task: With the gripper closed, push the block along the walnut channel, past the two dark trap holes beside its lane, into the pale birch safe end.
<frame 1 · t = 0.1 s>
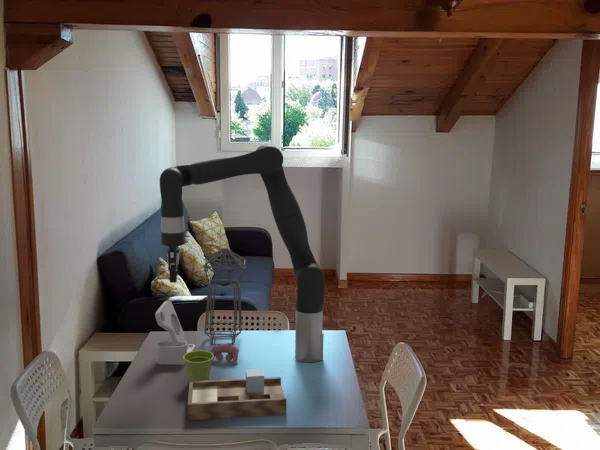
hand: (174, 278, 199), 29 cm above the table, tool pointing down, fingers open, 8 cm apart
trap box: (238, 404, 175), on the table
video game controller: (223, 362, 206), on the table
block: (254, 388, 179), point 3 cm above the table, touching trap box
plant pot: (199, 383, 190), on the table
phone holder: (176, 355, 212), on the table
geometric lantern: (225, 340, 226), on the table
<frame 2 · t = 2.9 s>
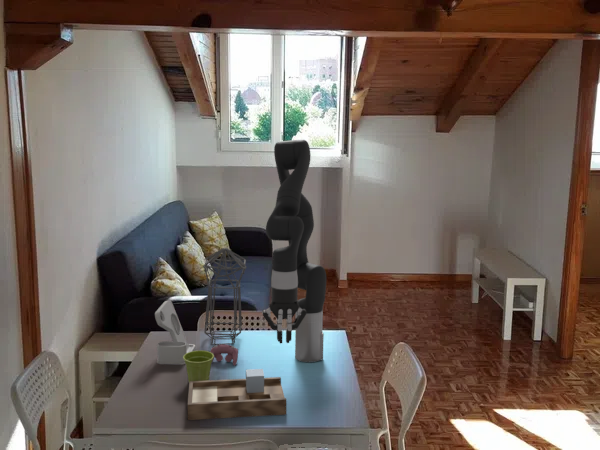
hand: (284, 342, 178), 17 cm above the table, tool pointing down, fingers closed
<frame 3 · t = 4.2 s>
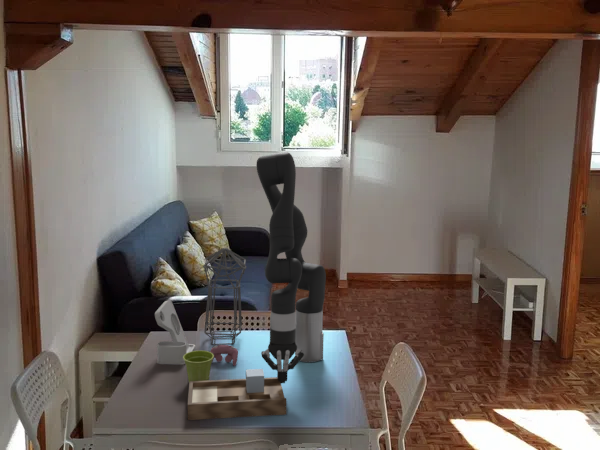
hand: (282, 382, 180), 5 cm above the table, tool pointing down, fingers closed
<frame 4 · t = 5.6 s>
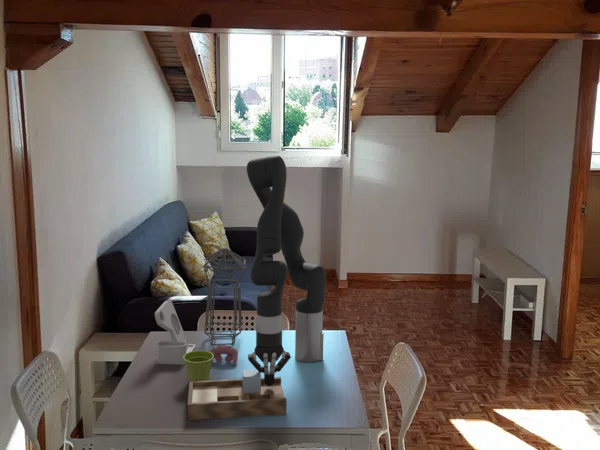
hand: (269, 384, 179), 4 cm above the table, tool pointing down, fingers closed
block: (251, 389, 179), point 3 cm above the table, touching gripper
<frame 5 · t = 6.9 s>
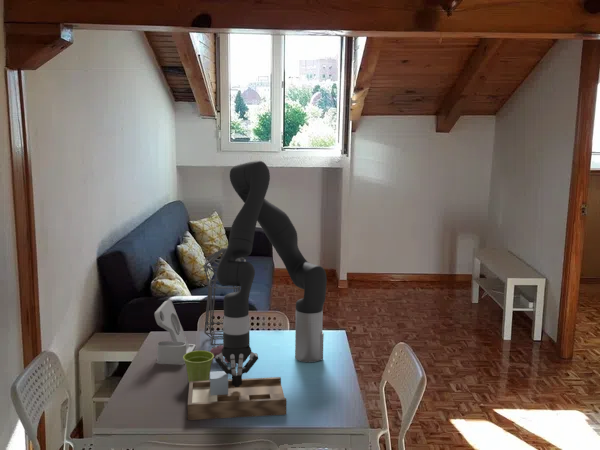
hand: (236, 386, 178), 4 cm above the table, tool pointing down, fingers closed
block: (219, 391, 177), point 3 cm above the table, touching gripper, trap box
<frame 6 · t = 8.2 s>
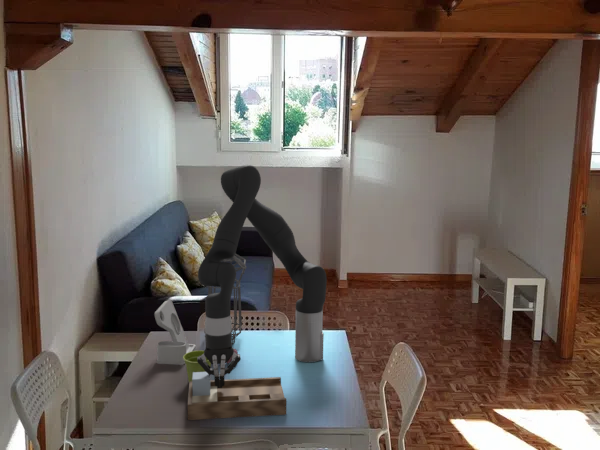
hand: (219, 387, 177), 4 cm above the table, tool pointing down, fingers closed
block: (201, 391, 176), point 3 cm above the table, touching gripper, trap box
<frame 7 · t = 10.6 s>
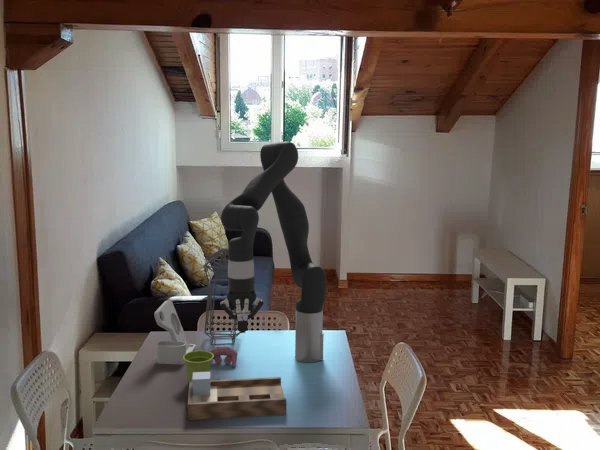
hand: (242, 332, 178), 20 cm above the table, tool pointing down, fingers closed
block: (201, 391, 176), point 3 cm above the table, touching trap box
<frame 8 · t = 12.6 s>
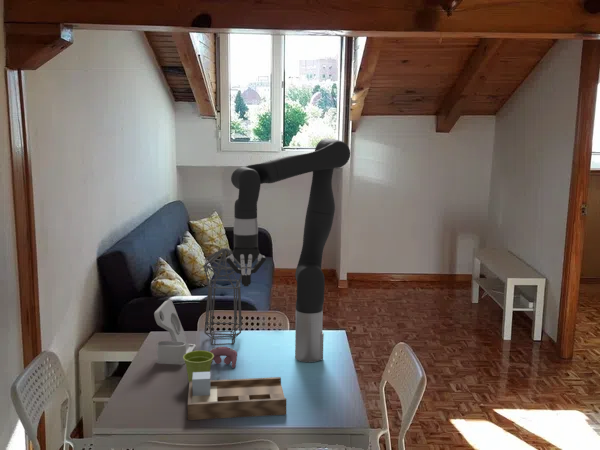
hand: (246, 285, 193), 29 cm above the table, tool pointing down, fingers closed
at the end: block 0.8 cm from the target spot on the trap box, point 3.0 cm above the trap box's base; block tilted 0°; the gripper is holding nothing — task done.
